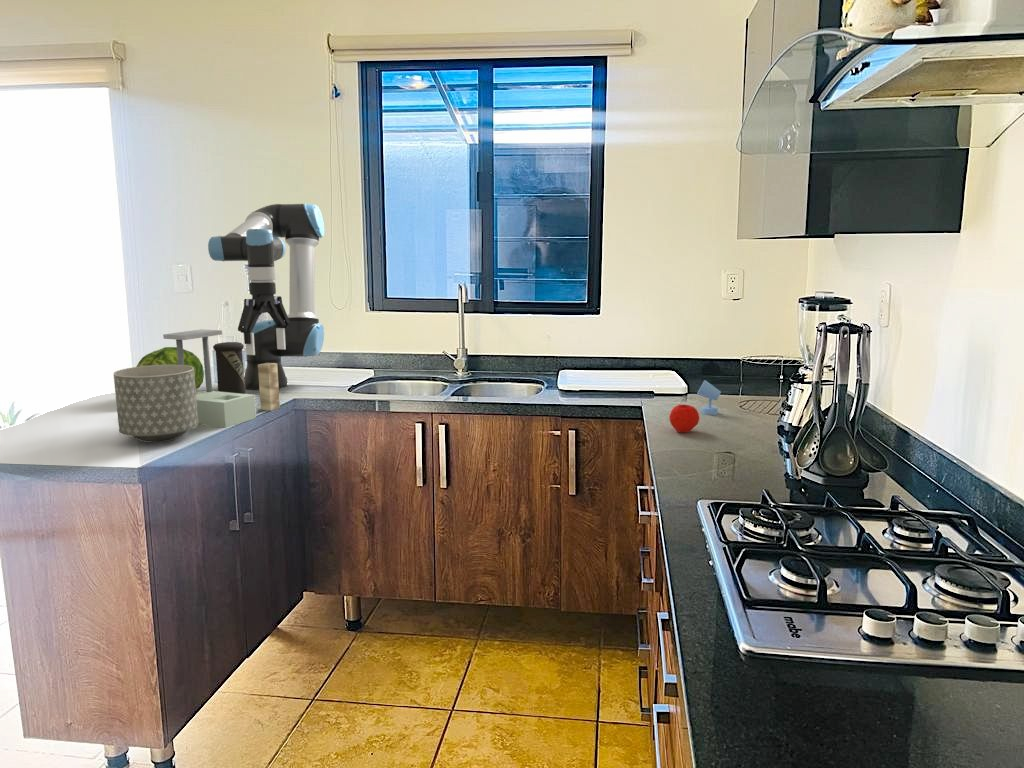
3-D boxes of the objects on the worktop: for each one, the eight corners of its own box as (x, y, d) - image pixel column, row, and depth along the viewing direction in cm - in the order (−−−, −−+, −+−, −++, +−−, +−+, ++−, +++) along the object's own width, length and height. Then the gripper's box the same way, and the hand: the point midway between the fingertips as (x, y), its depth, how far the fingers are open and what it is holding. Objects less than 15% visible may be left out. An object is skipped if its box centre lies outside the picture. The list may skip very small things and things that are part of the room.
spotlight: (695, 414, 230) (719, 415, 228) (696, 380, 228) (721, 382, 226) (696, 410, 234) (720, 412, 232) (697, 378, 233) (721, 379, 231)
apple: (704, 433, 206) (705, 406, 205) (677, 436, 204) (678, 408, 203) (689, 427, 214) (690, 400, 213) (663, 429, 212) (664, 402, 210)
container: (238, 408, 241) (233, 344, 237) (212, 407, 243) (207, 343, 239) (252, 402, 249) (248, 340, 246) (227, 401, 251) (222, 340, 247)
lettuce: (105, 380, 244) (137, 350, 236) (157, 357, 265) (188, 328, 256) (142, 426, 246) (175, 398, 238) (191, 399, 267) (223, 372, 258)
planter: (146, 429, 215) (140, 364, 212) (212, 430, 213) (207, 364, 210) (104, 446, 197) (97, 376, 193) (175, 448, 195) (169, 377, 191)
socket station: (170, 421, 223) (163, 334, 219) (207, 412, 236) (201, 329, 231) (223, 428, 216) (216, 337, 211) (258, 417, 228) (252, 332, 224)
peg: (269, 407, 243) (266, 362, 240) (279, 408, 241) (277, 363, 239) (260, 409, 239) (257, 364, 237) (271, 410, 238) (268, 365, 235)
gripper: (280, 279, 246) (284, 346, 249) (221, 283, 223) (226, 356, 227) (299, 279, 243) (303, 347, 246) (242, 283, 220) (246, 357, 224)
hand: (266, 352), depth 237 cm, fingers open, 13 cm apart
